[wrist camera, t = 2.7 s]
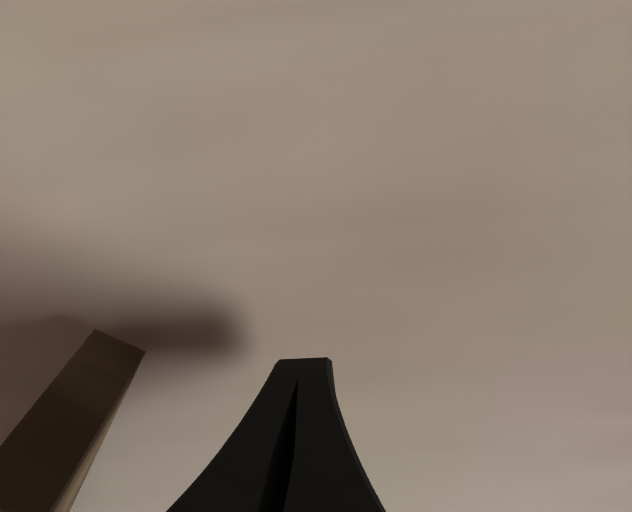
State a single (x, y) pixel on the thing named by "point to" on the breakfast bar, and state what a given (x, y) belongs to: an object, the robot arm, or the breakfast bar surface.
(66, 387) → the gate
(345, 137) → the breakfast bar surface
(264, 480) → the robot arm
